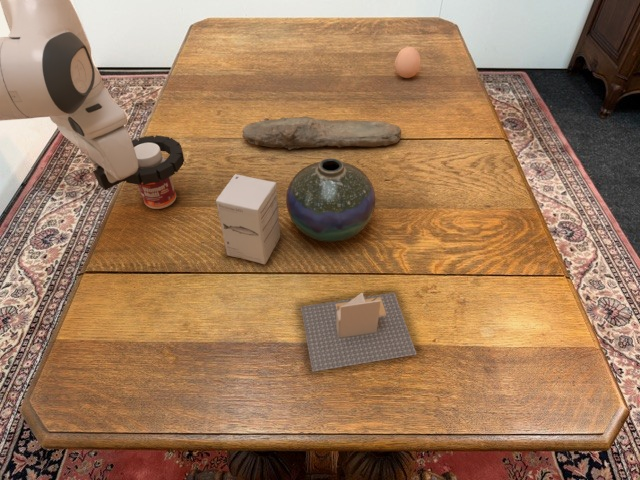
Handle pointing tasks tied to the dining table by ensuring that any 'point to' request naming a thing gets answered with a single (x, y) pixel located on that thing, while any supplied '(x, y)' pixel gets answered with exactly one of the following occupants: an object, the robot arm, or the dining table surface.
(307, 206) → the vase
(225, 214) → the white packaging box
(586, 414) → the dining table surface
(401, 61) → the egg
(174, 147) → the rubber collar
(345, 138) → the elongated rock
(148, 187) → the pill bottle
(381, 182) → the dining table surface
